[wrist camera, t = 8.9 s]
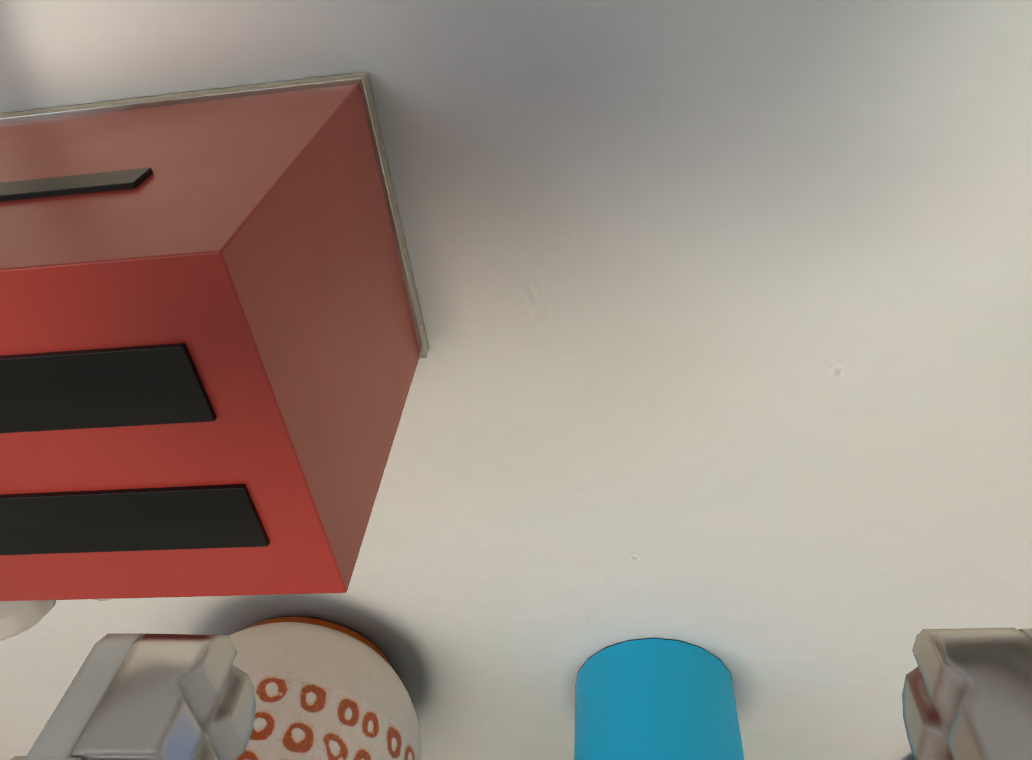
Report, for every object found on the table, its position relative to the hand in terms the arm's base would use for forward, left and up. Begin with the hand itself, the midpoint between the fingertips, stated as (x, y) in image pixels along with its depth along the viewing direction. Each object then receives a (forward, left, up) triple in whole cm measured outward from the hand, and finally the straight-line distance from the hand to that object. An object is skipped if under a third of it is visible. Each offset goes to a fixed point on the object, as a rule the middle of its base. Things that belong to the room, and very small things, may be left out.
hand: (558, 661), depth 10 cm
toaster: (+3, -14, -20) cm, 24 cm away
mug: (+32, +1, -20) cm, 38 cm away
